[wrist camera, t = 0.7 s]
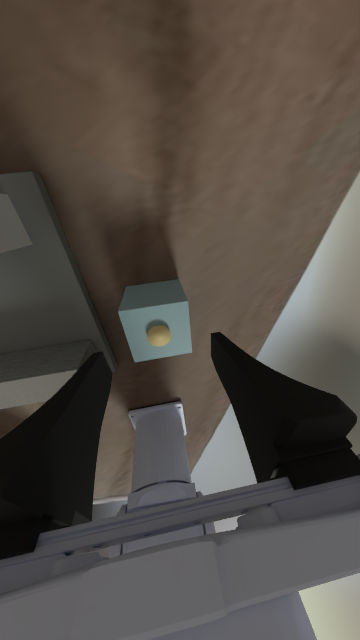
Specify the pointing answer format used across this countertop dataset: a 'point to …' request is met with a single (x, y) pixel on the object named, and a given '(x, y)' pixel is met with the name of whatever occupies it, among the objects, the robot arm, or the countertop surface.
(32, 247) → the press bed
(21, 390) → the block
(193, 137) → the countertop surface
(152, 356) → the housing
